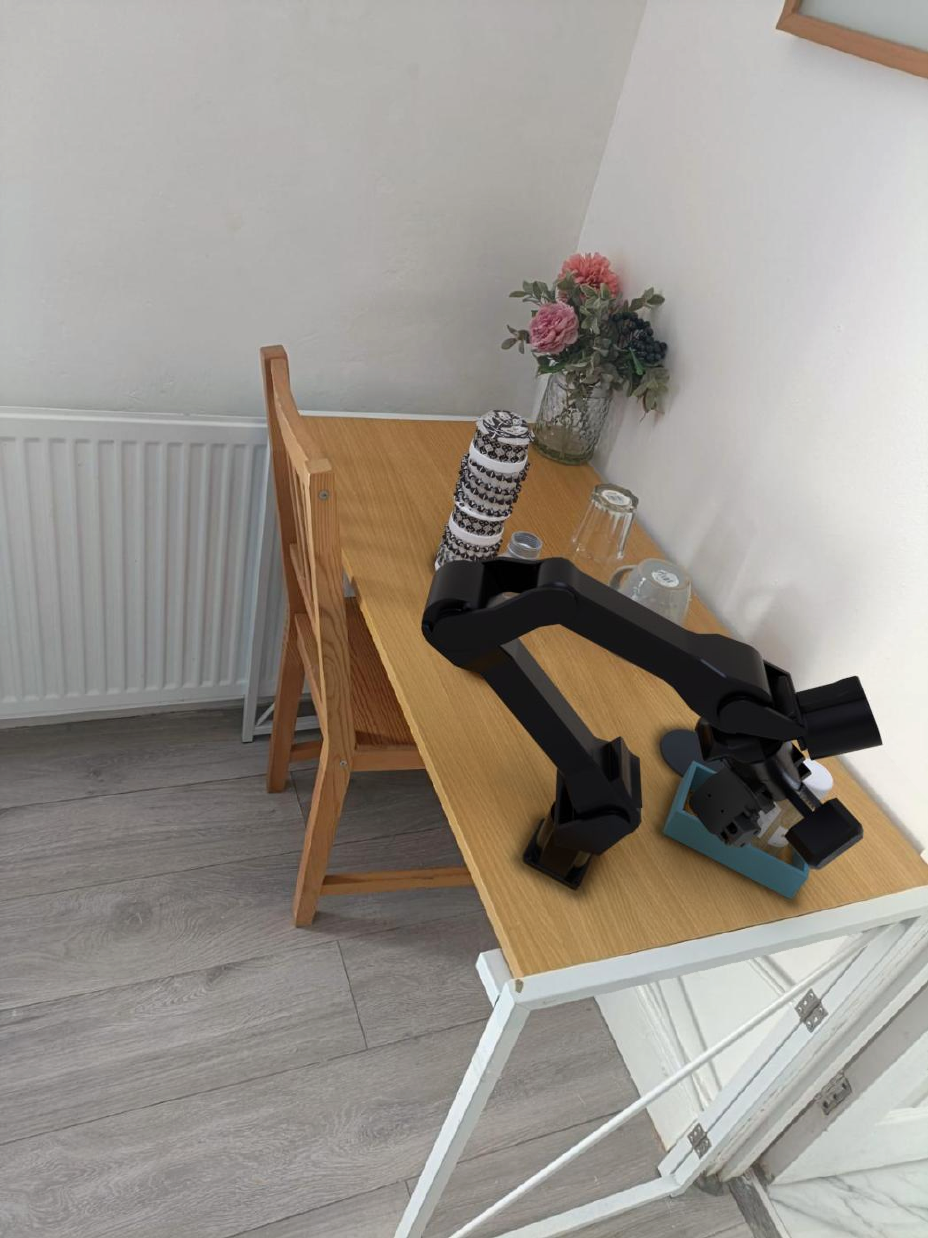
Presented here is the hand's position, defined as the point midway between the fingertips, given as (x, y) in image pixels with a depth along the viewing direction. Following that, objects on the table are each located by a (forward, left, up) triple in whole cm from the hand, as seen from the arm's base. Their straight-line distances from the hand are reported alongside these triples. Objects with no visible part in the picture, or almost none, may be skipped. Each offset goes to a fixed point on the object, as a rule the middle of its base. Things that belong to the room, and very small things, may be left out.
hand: (787, 802), depth 94 cm
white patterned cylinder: (+26, +49, -9) cm, 57 cm away
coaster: (+11, +9, -9) cm, 17 cm away
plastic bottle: (+8, +38, -9) cm, 40 cm away
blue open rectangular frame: (+1, +2, -9) cm, 9 cm away
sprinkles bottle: (+1, -1, -9) cm, 9 cm away
